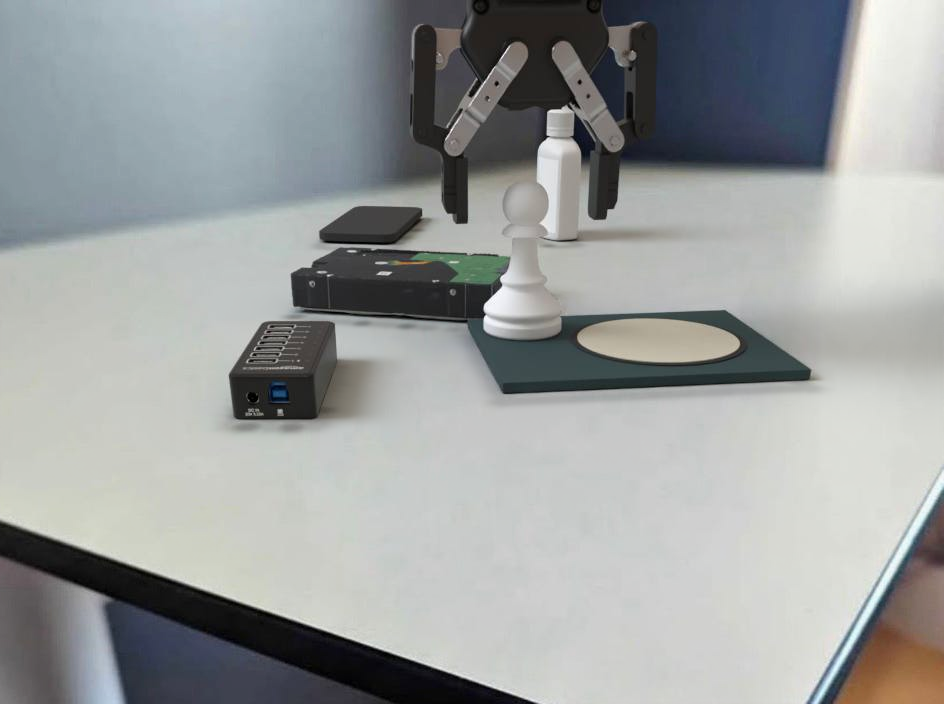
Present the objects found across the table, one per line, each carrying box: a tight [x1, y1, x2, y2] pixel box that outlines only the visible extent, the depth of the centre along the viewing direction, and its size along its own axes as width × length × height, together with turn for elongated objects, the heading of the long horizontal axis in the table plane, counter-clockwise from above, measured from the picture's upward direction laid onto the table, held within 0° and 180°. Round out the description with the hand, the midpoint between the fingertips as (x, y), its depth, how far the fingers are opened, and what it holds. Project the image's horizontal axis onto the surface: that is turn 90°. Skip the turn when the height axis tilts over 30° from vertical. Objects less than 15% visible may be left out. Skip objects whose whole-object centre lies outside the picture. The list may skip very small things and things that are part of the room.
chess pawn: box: [484, 178, 563, 341], centre depth 64 cm, size 5×5×9 cm
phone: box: [318, 205, 423, 243], centre depth 100 cm, size 7×1×15 cm
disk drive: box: [290, 246, 511, 322], centre depth 75 cm, size 10×3×15 cm
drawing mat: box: [467, 309, 812, 394], centre depth 64 cm, size 18×14×1 cm
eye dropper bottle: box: [536, 105, 582, 241], centre depth 95 cm, size 4×6×12 cm
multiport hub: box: [228, 320, 338, 419], centre depth 58 cm, size 4×11×2 cm, turn 0°
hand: (529, 220), depth 63 cm, fingers open, 8 cm apart
